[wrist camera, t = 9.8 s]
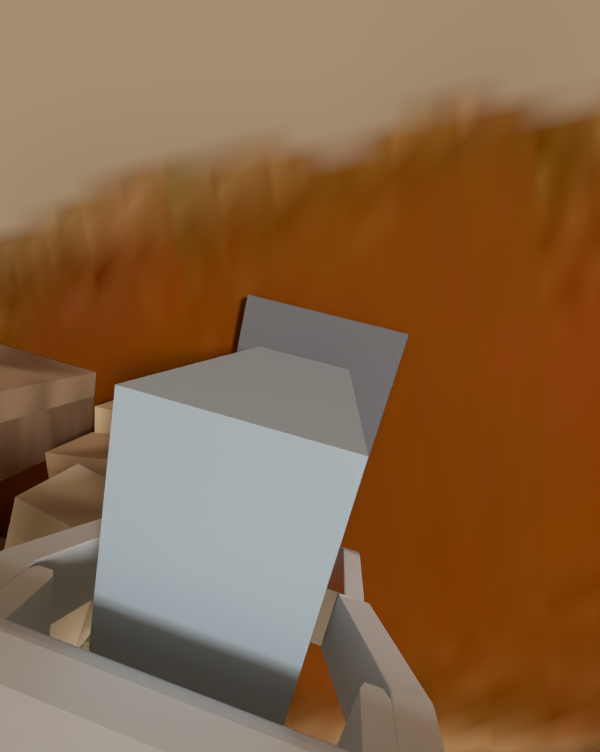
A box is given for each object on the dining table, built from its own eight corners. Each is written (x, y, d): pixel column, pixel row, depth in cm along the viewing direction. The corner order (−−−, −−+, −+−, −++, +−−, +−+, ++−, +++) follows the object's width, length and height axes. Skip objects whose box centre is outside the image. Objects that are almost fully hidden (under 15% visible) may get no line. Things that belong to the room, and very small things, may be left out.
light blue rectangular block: (348, 369, 12) (368, 455, 4) (290, 577, 14) (230, 893, 6) (259, 346, 12) (115, 384, 4) (216, 552, 14) (71, 822, 7)
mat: (405, 334, 14) (408, 334, 13) (326, 577, 17) (326, 586, 16) (251, 295, 14) (247, 294, 14) (204, 534, 18) (199, 541, 17)
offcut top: (154, 503, 12) (108, 546, 10) (120, 597, 14) (72, 655, 11) (78, 463, 13) (15, 496, 10) (52, 559, 14) (-9, 608, 12)
